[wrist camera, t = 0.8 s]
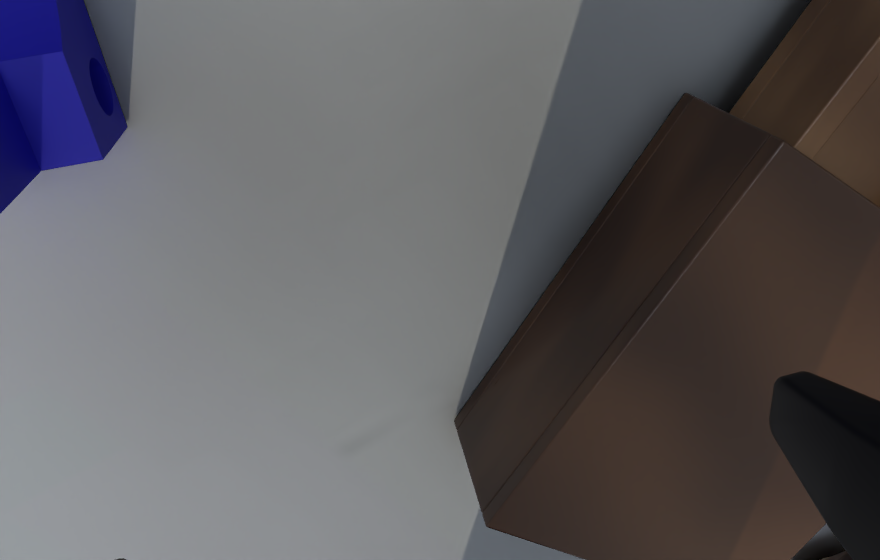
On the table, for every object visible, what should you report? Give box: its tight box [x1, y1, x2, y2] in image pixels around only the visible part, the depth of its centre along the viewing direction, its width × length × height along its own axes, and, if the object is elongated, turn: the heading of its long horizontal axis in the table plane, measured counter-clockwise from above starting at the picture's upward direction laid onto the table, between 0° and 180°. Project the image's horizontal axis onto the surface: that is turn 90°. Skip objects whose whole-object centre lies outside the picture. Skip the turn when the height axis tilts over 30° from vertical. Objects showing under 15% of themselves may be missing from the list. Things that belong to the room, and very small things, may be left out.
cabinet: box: [454, 93, 880, 560], centre depth 25 cm, size 14×12×5 cm
